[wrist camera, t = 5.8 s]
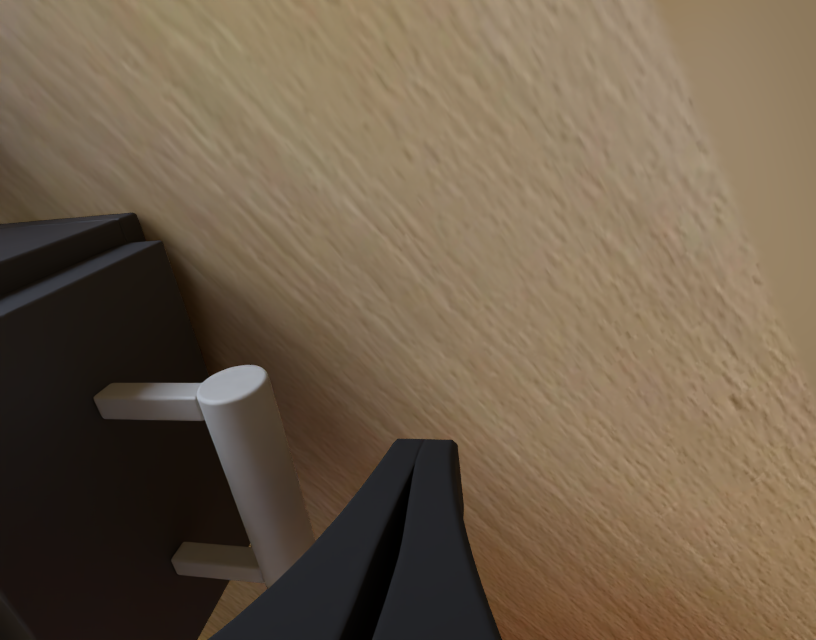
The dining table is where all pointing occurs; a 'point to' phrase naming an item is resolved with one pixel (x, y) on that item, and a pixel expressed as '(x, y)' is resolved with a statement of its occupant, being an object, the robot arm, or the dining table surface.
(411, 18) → the dining table surface
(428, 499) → the robot arm
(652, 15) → the dining table surface
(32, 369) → the drawer
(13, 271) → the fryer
